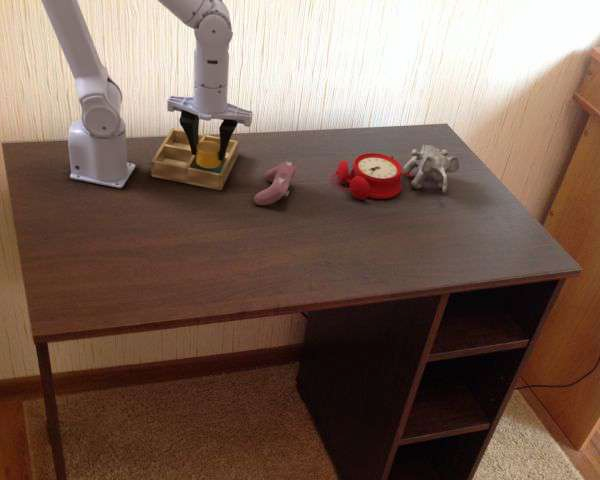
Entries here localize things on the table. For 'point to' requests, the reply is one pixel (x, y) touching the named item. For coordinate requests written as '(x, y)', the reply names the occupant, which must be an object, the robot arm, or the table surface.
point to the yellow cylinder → (208, 154)
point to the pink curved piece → (276, 184)
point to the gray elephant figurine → (431, 166)
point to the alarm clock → (371, 176)
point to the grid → (191, 161)
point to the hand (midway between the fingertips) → (208, 155)
